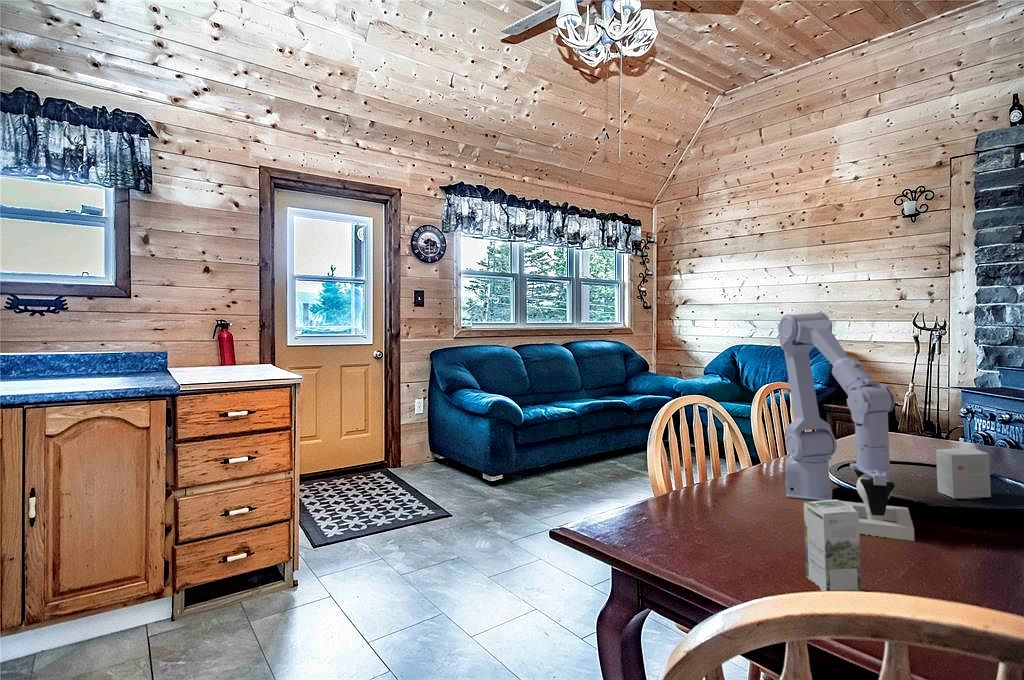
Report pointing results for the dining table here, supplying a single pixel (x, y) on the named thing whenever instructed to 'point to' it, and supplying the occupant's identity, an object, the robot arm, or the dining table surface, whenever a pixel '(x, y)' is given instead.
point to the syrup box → (832, 545)
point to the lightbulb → (865, 499)
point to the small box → (963, 472)
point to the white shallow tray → (884, 528)
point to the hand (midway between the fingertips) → (874, 509)
